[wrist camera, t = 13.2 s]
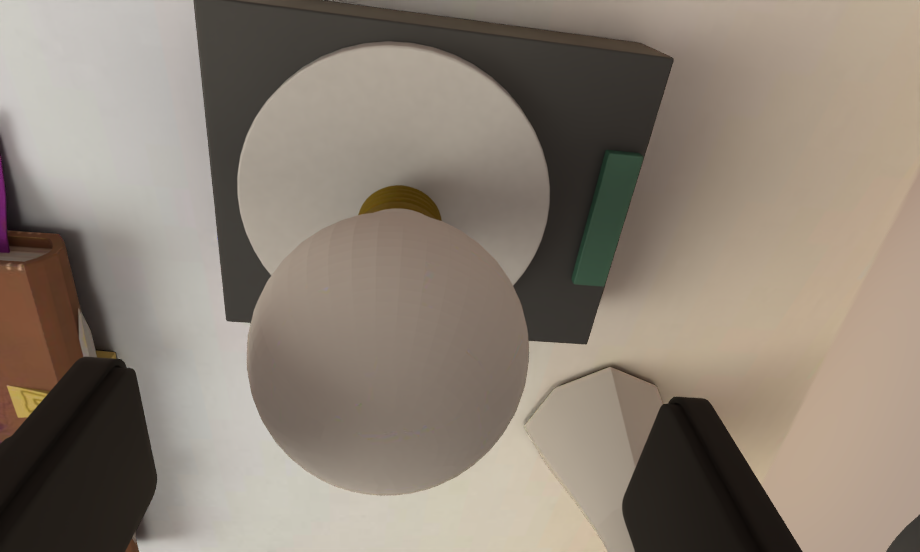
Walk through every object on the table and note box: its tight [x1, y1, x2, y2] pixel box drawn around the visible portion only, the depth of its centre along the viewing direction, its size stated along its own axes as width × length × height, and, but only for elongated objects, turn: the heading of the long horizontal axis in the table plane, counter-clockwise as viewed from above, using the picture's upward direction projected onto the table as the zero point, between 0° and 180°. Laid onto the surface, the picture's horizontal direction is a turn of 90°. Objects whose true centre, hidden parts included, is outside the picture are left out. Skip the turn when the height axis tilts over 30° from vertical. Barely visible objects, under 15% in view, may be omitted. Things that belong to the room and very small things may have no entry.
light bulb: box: [247, 185, 529, 496], centre depth 14 cm, size 6×6×10 cm
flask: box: [524, 367, 663, 552], centre depth 25 cm, size 7×7×10 cm
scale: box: [194, 0, 674, 344], centre depth 20 cm, size 14×11×4 cm
